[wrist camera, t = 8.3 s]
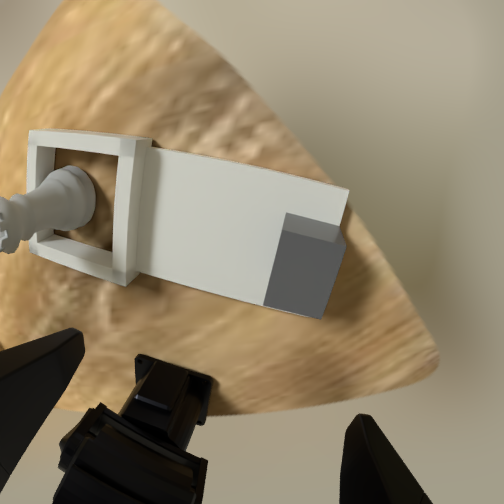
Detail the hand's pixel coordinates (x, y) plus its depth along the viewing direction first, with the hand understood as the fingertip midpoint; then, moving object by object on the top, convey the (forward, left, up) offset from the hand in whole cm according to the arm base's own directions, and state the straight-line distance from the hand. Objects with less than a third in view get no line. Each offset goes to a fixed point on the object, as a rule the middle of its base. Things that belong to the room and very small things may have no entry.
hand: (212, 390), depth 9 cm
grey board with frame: (+1, +6, -11) cm, 13 cm away
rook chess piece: (+1, +13, -11) cm, 18 cm away
